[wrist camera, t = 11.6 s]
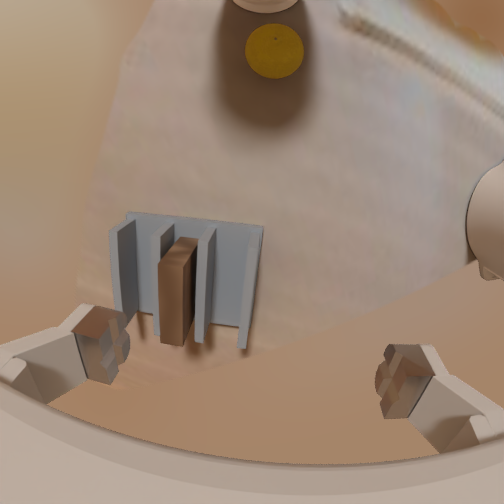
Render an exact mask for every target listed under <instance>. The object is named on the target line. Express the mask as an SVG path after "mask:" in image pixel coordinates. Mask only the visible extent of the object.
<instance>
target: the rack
mask: <svg viewBox="0 0 504 504" xmlns="http://www.w3.org/2000/svg"><path fill="white" fill-rule="evenodd" d="M262 234H263V226H259V225H250V224H242V223H233V222H224V221H215V220H206V219H197V218H188V217H178V216H168V215H158V214H148V213H137V212H128V213H126V220H124V221H123V222H121V223H120V224H118V225H117V226H115V227H114V228H112V229H111V230H109V245H110V261H111V275H112V286H113V296H114V305H115V310H117V311H121V312H124V313H125V314H126V317H127V323H129V322H130V321H131V319H132V318H133V316H134V315H135V313H136V312H137V311H141V312H146V313H152V314H153V322H154V335H157V336H160V324H159V302H158V263H159V262H160V260H161V259H162V258H163V257H164V255H165V254H166V253H167V252H168V251H169V249H170V248H171V247H172V246H173V245H174V243H175V242H176V241H177V240H178V239H179V237H189V238H197V239H199V240H198V250H197V272H196V300H195V316H194V319H193V320H195V342H199V343H204V339H205V336H206V332H207V329H208V326H209V323H216V324H223V325H231V326H239V333H238V342H237V348H243V349H246V343H247V336H248V328H250V327H251V319H252V311H253V304H254V296H255V288H256V281H257V273H258V265H259V257H260V250H261V242H262ZM127 325H128V324H127ZM127 325H126V326H127ZM125 328H126V327H125ZM125 328H124V329H125Z"/></svg>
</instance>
